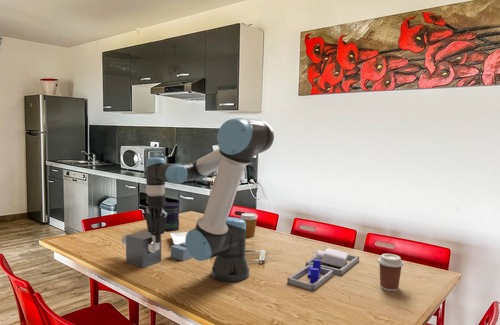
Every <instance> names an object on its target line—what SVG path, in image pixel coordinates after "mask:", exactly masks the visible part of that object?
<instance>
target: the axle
mask: <svg viewBox="0 0 500 325" xmlns="http://www.w3.org/2000/svg"><path fill="white" fill-rule="evenodd" d="M126 235H127V234H126ZM126 235H123V236H122V238H121V244H122V245H125V246H126ZM157 251H158V250H156V251H153V246H152V242H148V252H152V253H156V252H157Z"/></svg>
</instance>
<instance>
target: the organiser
mask: <svg viewBox="0 0 500 325" xmlns="http://www.w3.org/2000/svg"><path fill="white" fill-rule="evenodd" d="M323 251H324V252H325V250H323ZM314 259H318V260H322V258H321V257H318V256H316V255H315V256H314V257H311V258H310V259H309V260H307V261H306V262H305V266H304V267H303V268H302V269H300V270H298V271H297V272H295V273H293V274H292V275H290V276H289V277H286V278H287V279H286V280H287V282H286V283H287V284H289V285H291V286H292V285H293V286H296V287H299V288H301V289H302V288H303V289H306V290H309V291H313V292H314V291H315V290H316V289H318V288H319V287H321V286H322V285H324V283H325V282H327V281H328V280H330V279H331V278H333V277H334V275H337V276H342V275H343V274H345V273H346V272H347V271H348V270H350V269H351V268H352V267H354V266H355V265H356V264H357V263H359V262H360V256H358V255H353V254H349V253H348V257H347V260H350V261H349V262H347V263H346V265H345V266H344V267H342V268H341V267H340V269H339V268H335V267H330V266H327V265H322V264H321V274H323V276H320V278H319V280H317V281H316V282H315V283H313V284H311V283H310V282H307V281H303V280H300V278H301V277H303V276H304V275H305V274H308V272H309V267H310V266H313V260H314Z"/></svg>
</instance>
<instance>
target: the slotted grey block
mask: <svg viewBox="0 0 500 325" xmlns="http://www.w3.org/2000/svg"><path fill="white" fill-rule="evenodd" d="M148 242H152V235H151V233H150V232H148V230H141V231H137V232H134V233H129V234H126V245H125V260H126V262H125V263H127V264H130V265H133V266H136V267H139V268H141V269H143V268H146V267H150V266H153V265H156V264H159V263H161V262H162V234H161V235H160V242H159V244H160V249H159V250H158V251H157V252H156V253H152V252H148Z"/></svg>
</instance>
